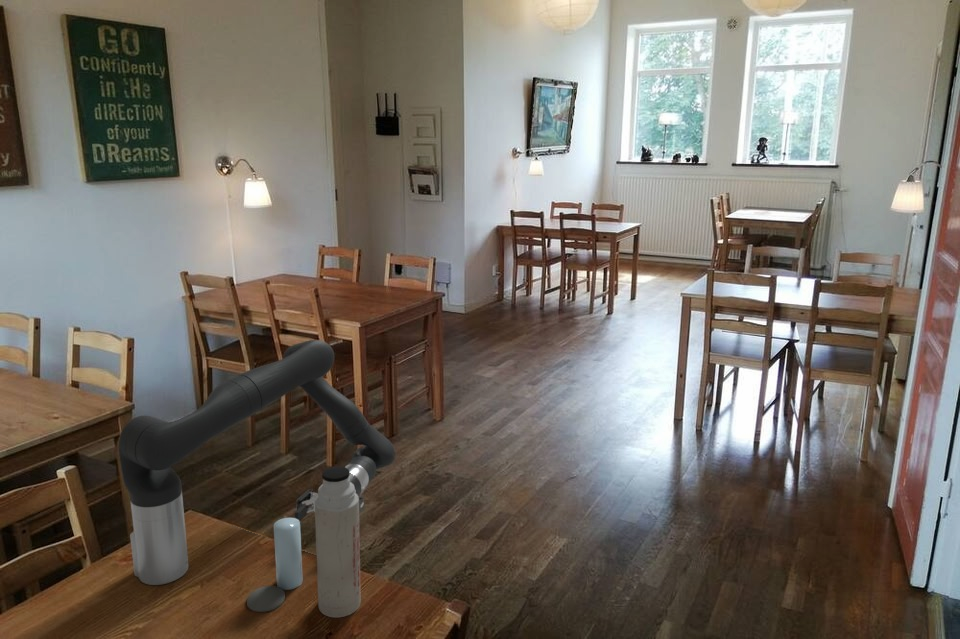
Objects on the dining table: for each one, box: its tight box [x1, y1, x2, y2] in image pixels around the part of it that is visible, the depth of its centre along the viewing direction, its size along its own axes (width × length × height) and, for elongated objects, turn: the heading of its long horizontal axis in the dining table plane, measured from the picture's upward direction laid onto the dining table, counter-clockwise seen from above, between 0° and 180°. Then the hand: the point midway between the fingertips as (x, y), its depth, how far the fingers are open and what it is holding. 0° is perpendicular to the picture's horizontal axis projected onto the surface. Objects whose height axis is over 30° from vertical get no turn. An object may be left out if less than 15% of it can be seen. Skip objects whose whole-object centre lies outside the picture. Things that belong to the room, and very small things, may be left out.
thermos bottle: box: [314, 465, 362, 619], centre depth 127 cm, size 8×8×28 cm
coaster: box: [246, 585, 286, 613], centre depth 131 cm, size 7×7×1 cm
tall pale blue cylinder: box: [273, 517, 304, 591], centre depth 135 cm, size 5×5×13 cm
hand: (315, 521), depth 145 cm, fingers open, 8 cm apart
